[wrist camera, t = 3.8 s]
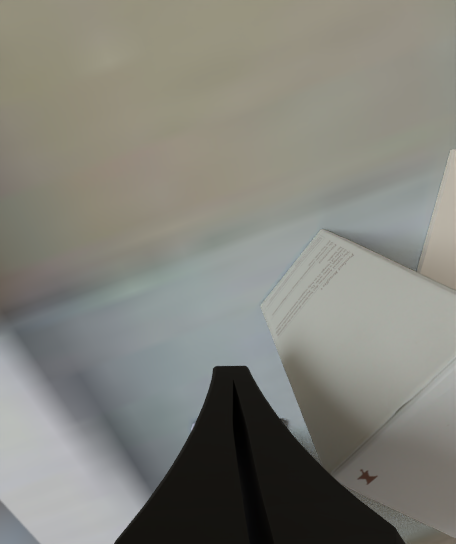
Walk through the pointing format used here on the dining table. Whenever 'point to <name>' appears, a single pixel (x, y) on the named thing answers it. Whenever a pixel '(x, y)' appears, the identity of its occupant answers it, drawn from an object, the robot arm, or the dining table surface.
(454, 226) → the mat
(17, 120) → the dining table surface
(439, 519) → the supplement box
